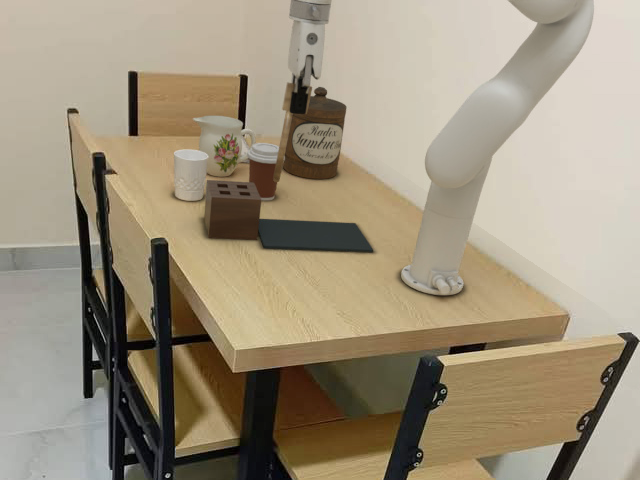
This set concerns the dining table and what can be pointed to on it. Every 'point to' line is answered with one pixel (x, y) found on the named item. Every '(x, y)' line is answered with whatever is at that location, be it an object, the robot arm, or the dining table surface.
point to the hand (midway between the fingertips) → (296, 111)
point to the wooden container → (316, 138)
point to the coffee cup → (263, 168)
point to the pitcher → (222, 143)
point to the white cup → (190, 174)
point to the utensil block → (232, 210)
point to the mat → (312, 235)
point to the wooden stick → (286, 128)
